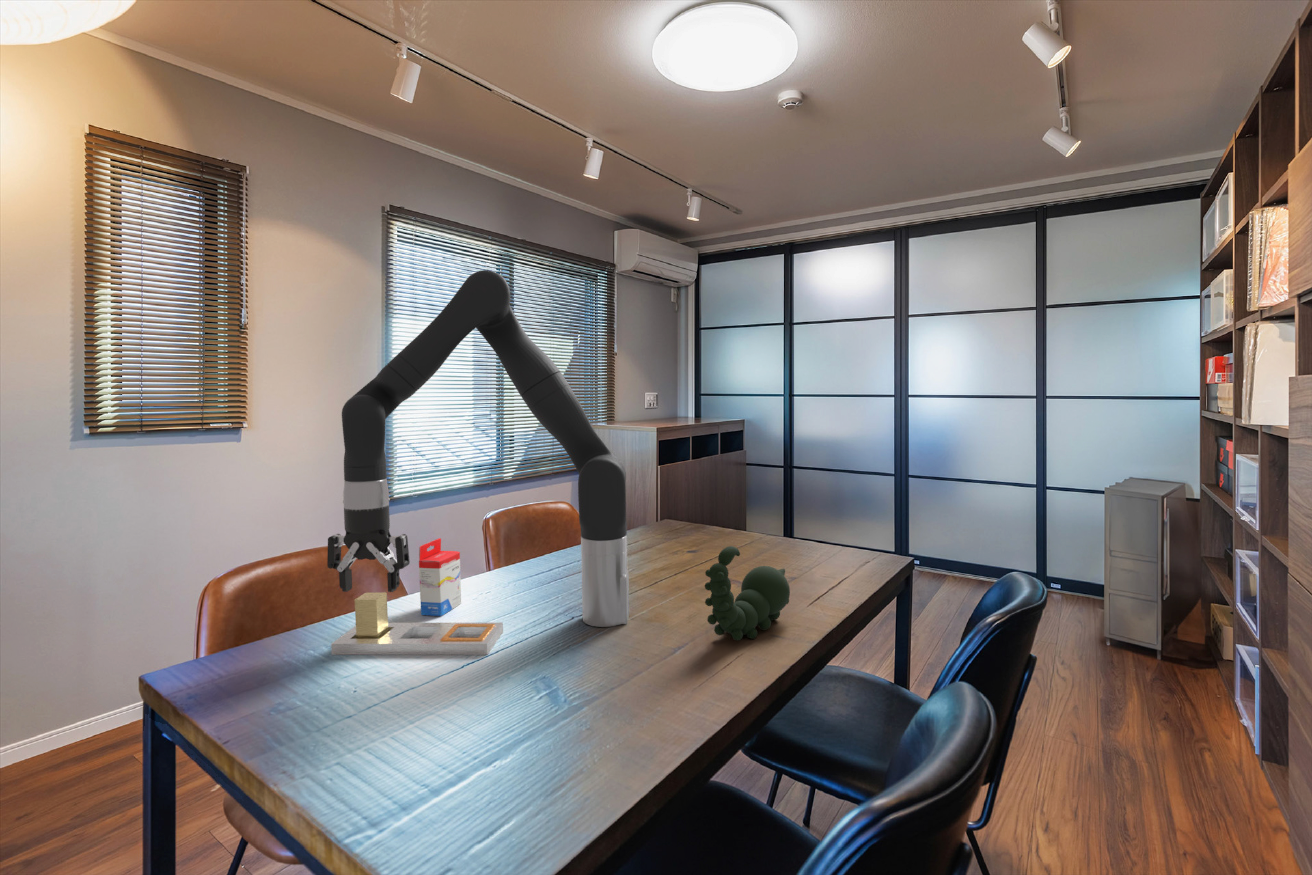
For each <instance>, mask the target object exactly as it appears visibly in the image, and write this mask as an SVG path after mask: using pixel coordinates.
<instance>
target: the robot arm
mask: <svg viewBox="0 0 1312 875" xmlns="http://www.w3.org/2000/svg"><path fill="white" fill-rule="evenodd" d="M511 296H512V295H511V289H510V286H509V284H508V282H507V281H506V279H505V277H503V276H502V275H501V274H500V273H498V272H496V271H492V270H488V269H487V270H486V269H485V270H479V271H475V272H473V273H472V274H470V275H469V276H468V277H467V278H466V280H465V281H464V283H463V284H462V285H461V286H460V287H459V288H458V290H457V291H456V293H455V294H454V295H453V297H452V298H451V300H450V301H449V302H448V303H447V304H446V306H444V308H443V309H442V310H441V311H440V313H439V314H438V315H437V316H436V317H435V318H434V319H433V320H432V321H431V322H430V323H429V324H428V325H427V326H426V327H425V328H424V329H423V330H422V331H421V332H420V333H419V334H418V335H417V336H416V337H415V338H413V340H412V341H410V342H409V343H408V344H407V345H406V346H405V347H404V348H403V349H401V351H400V352H398V354H396V355H395V356H394V357H393V358H392V359H391V360H390V361H389V362H388V363H387V364H385V366H384V367H382V368H381V370H380V371H379V372H378V374H377V375H375V377H374V378H373V379H372V380H370V381H369V382H367V384H365V385H364V386H363V387H361V389H360V390H358V391H357V392H356V393H355V394H353V395H352V396H351V397H350V398H349V399H348V400H347V401H346V402H345V403H344V405H343V406H342V410H341V423H342V424H341V425H342V436H343V446H344V454H343V475H344V476H343V477H344V478H343V481H344V482H343V491H342V492H343V494H342V496H343V500H342V503H343V520H344V522H343V523H344V531H345V535H341V534H340V533H335V534H333V535H331V536H329V537H328V538H327V556H326V557H327V561H326V562H327V563H326V564H327V568H328V569H334V570H337V571H338V579H339V580H338V581H339V588H340V589H341V591H342V593H343V592H347V593H348V592H349V591H352V589H353V575H352V573H353V570H352V568H351V566H352V565H353V564H354V562H356V560H357V561H358V560H365V559H367V560H370V561H374V560H377V561H378V562H379V564H381V565H383V566H384V567H385V569H386V570H387V571H388V572H386V573H387V574H386V575H387V591H388V592H387V593H393V592H395V591H396V590H397V589H398V587H399V586H400V583H401V582H400V581H401V580H400V571H401V570H402V569H405V568H406V567H408V566H409V565H410V562H411V560H410V552H409V542H408V541H409V539H408V535H407V534H406V533H402V534H401V535H392V534H391V533H390V527H391V523H390V494H389V493H390V492H389V485H388V481H387V480H388V479H387V477H388V475H387V459H386V458H387V457H386V452H385V444H386V443H385V441H386V419H387V418H388V417H390V415H391V414H392V413H393V412H394V411H395V410H396V409H397V408H398V407H399V406H400V405H401V404H402V403H403V402H404V401H407V400H408V399H409V398H411V397H412V396H413V395H414V394H415V393H416V392H417V391H419V390H420V389H421V388H422V387H423V386H424V385H425V384H426V383H427V382H429V380H430V379H431V378H432V377H434V375H435V374H436V373H437V371H438V370H439V369H441V366H443V364H444V363H445V362H446V360H447V359H448V358H449V357H450V355H451V354H452V353H453V351H454V350H455V349H456V348H457V347H458V346H459V344H460V343H462V341H463V340H464V339H465V338H466V337H468V335H470V333H471V332H473V331H474V330H475V329H477V331H478V332H479V333H480V334H481V335H482V337H483V339H485V341H486V342H487V343H488V345H489V346H490V347H491V348H492V350H493V351H494V353H495V354H496V355H497V357H498V359H499V361H500V363H501V364H502V366H503V368H504V370H505V372H506V375H508V377H509V379H510V380H511V382H512V384H513V386H514V387H515V389H516V391H517V392H518V394H519V395H520V397H521V398H522V400H523V402H524V403H525V405H526V406H527V407H528V409H529V411H530V412H531V413H532V415H533V416H534V417H535V418H536V419H537V421H538V422H539V423H540V425H542V426H543V427H544V429H545V430H546V431H547V432H548V433H549V434H550V435H551V436H552V437H553V438H554V439H555V440H556V441H557V442H558V443H559V444H560V446H562V448H563V450H565V452H566V453H567V455H568V457H569V459H570V460H571V462H572V464H573V465H574V468H576V471H577V473H578V479H577V480H578V481H577V494H578V495H577V496H578V498H577V499H578V518H579V519H578V520H579V527H580V554H581V556H580V557H581V558H580V560H581V562H580V563H581V564H580V565H581V598H582V601H581V602H582V603H581V604H582V607H581V608H582V621H583V623H585V624H586V625H589V626H592V627H596V628H597V627H598V628H605V627H606V628H607V627H614V626H618V625H627V624H628V621H629V616H630V590H629V588H630V586H629V584H630V583H629V582H630V581H629V579H630V578H629V576H630V575H629V569H628V537H627V536H628V534H627V532H628V531H627V530H628V529H627V528H628V527H627V526H628V523H627V522H628V521H627V501H626V500H627V495H626V494H627V493H626V492H627V490H626V484H627V473H626V470H625V467H624V465H623V463H622V462H621V461H620V459H618V457H617V456H616V455H615V454H614V453H613V452H612V451H611V449H610V448H609V447H608V445H606V443H605V441H603V439H602V438H601V437H600V436H599V434H598V433H597V432H596V430H595V428H594V427H593V425H592V423H591V422H590V420H589V417H588V416H587V414H586V412H585V409H584V408H583V406H582V404H581V402H580V401H579V399H578V397H577V395H576V394H575V392H574V391H573V389H572V387H571V385H570V384H569V382H568V381H567V379H566V378H565V377H564V375H563V373H562V372H561V370H560V369H559V367H558V366H557V365H556V363H555V362H554V361H553V360H552V359H551V358H550V357H549V356H548V355H547V354H546V353H545V352H544V351H543V350H542V349H541V348H540V347H539V346H538V345H537V344H536V343H535V342H534V341H533V340H532V339H531V338H530V337H529V335H527V333H526V331H525V330H524V329H523V327H522V325H521V323H520V322H519V320H518V318H517V317H516V315H515V313H514V311H513V308H512V306H511ZM391 544H392V545H393V546H392V547H393V548H394V549H395V554H396V555H395V554H394V552H393V551H392V550H391V549H390V547H389V546H390V545H391ZM343 545H345V546H346V548H347V549H348V551H347V552H346V553H345V555H344V556H343V557H342V546H343ZM395 556H396V558H395Z"/></svg>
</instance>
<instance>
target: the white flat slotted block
mask: <svg viewBox="0 0 1312 875" xmlns="http://www.w3.org/2000/svg"><path fill="white" fill-rule="evenodd" d="M503 634H504V623H503V622H388V633H387V634H385V635H384V636H383V637H382V638H381V639H357V638H356V625H355V626H353V627H352V628H350V629H349V630H348V631H347V632H345V633H344V634H343V635H341V636H340V637H339V638H337V639H335V640H334V641H332V643H331V644H330V650H331V655H332V656H335V655H336V656H337V655H342V656H343V655H344V656H345V655H349V656H350V655H354V656H355V655H356V656H357V655H360V656H365V655H367V656H368V655H369V656H370V655H373V656H375V655H376V656H377V655H378V656H379V655H380V656H383V655H385V656H386V655H387V656H390V655H393V656H394V655H395V656H396V655H397V656H398V655H399V656H404V655H406V656H408V655H409V656H410V655H415V656H417V655H419V656H421V655H422V656H423V655H429V656H433V655H434V656H435V655H437V656H439V655H440V656H445V655H447V656H448V655H449V656H450V655H451V656H453V655H454V656H455V655H459V656H463V655H465V656H470V655H471V656H475V655H477V656H478V655H481V656H487V655H489V653H490V652H491V651H492V649H493V648H494V646H495V645H496V644H497V642H498V640H499V639H500V638H501V636H502V635H503Z"/></svg>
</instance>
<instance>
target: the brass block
mask: <svg viewBox="0 0 1312 875" xmlns="http://www.w3.org/2000/svg"><path fill="white" fill-rule="evenodd" d="M387 593H388V592H365V593H363V594H361V595H359V596H358V597H356V598H355V599H354V611H355V612H354V614H355V626H356V638H357V639H381V638H382V637H383V636H384V635H385V634H387V633H388V623H389V613H388V595H387Z"/></svg>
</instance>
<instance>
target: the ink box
mask: <svg viewBox="0 0 1312 875" xmlns="http://www.w3.org/2000/svg"><path fill="white" fill-rule="evenodd" d="M430 547H433V548H431V549H430ZM428 549H430V550H428ZM460 554H461V552H460V551H455V550H442V538H441V537H439V538H437V539H434V540H431V541H429V542H426V543H424V544H422V545H420V546H419V547H418V576H419V577H418V578H419V597H420V598H419V599H420V615H421V616H432V617H442V616H444V615H445V614H447V613H449V612H450V611H452V610H453V609H455V608H456V607H458V606H460V605H461V604H462V588H461V587H462V584H461V581H462V580H461V555H460Z"/></svg>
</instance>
